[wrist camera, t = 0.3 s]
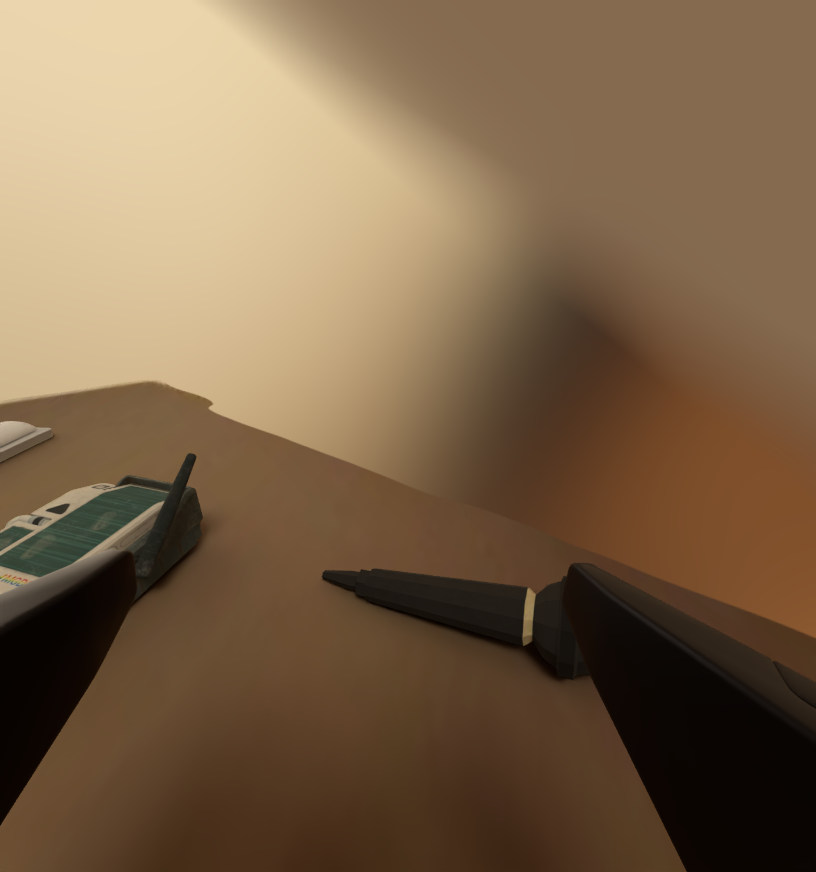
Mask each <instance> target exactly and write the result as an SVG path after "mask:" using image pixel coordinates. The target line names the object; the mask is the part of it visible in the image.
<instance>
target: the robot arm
mask: <svg viewBox="0 0 816 872" xmlns="http://www.w3.org/2000/svg"><path fill="white" fill-rule="evenodd" d="M136 593H137V579H136V570H135V561H134V556H133V553H132V552H131V551H129V550H113V549H109V550H105V551H102V552H100V553H98V554H95V555H93V556H90V557H88V558H86V559H83V560H81V561H78V562H76V563H74V564H71V565H69V566H66V567H64V568H62V569H59V570H57V571H54V572H52V573H50V574H47V575H45V576H42V577H40V578H38V579H35V580H33V581H30V582H28V583H26V584H23V585H21V586H18V587H16V588H14V589H11V590H9V591H6V592H4V593H2V594H0V825H1V824H2V822H3V821H4V819H5V817H6V816H7V814H8V813H9V811H10V810H11V808H12V806H13V805H14V803H15V802H16V800H17V799H18V797H19V795H20V794H21V792H22V791H23V789H24V788H25V786H26V784H27V783H28V781H29V780H30V778H31V777H32V775H33V773H34V772H35V770H36V769H37V767H38V766H39V764H40V762H41V761H42V759H43V758H44V756H45V755H46V753H47V751H48V750H49V748H50V747H51V745H52V744H53V742H54V740H55V739H56V737H57V736H58V734H59V733H60V731H61V729H62V728H63V726H64V725H65V723H66V722H67V720H68V718H69V717H70V715H71V714H72V712H73V711H74V709H75V707H76V706H77V704H78V703H79V701H80V700H81V698H82V696H83V695H84V693H85V692H86V690H87V689H88V687H89V685H90V684H91V682H92V680H93V679H94V677H95V675H96V674H97V672H98V670H99V668H100V666H101V664H102V662H103V661H104V659H105V657H106V655H107V653H108V651H109V649H110V647H111V645H112V643H113V641H114V639H115V637H116V635H117V633H118V631H119V629H120V627H121V625H122V623H123V621H124V619H125V617H126V615H127V613H128V611H129V609H130V607H131V605H132V603H133V601H134V599H135V596H136ZM562 600H563V606H564V609H565V611H566V614H567V617H568V619H569V622H570V625H571V627H572V630H573V633H574V635H575V638H576V640H577V643H578V646H579V648H580V651H581V654H582V656H583V659H584V662H585V664H586V666H587V669H588V671H589V674H590V676H591V678H592V680H593V682H594V684H595V686H596V688H597V691H598V693H599V695H600V697H601V699H602V701H603V703H604V705H605V707H606V709H607V711H608V713H609V715H610V717H611V719H612V721H613V723H614V725H615V727H616V729H617V731H618V733H619V735H620V737H621V739H622V741H623V743H624V745H625V747H626V749H627V751H628V753H629V755H630V758H631V760H632V762H633V764H634V766H635V768H636V770H637V772H638V774H639V776H640V778H641V780H642V782H643V784H644V786H645V788H646V790H647V792H648V794H649V796H650V798H651V800H652V802H653V804H654V806H655V808H656V810H657V812H658V814H659V816H660V818H661V820H662V823H663V825H664V827H665V829H666V831H667V833H668V835H669V837H670V839H671V841H672V843H673V845H674V847H675V849H676V851H677V853H678V855H679V857H680V859H681V861H682V863H683V865H684V867H685V869H686V871H687V872H816V682H815V681H813V680H811V679H809V678H807V677H805V676H803V675H801V674H799V673H797V672H795V671H794V670H792V669H790V668H788V667H786V666H784V665H782V664H780V663H778V662H776V661H773V662H772V660H771V659H770V658H769V657H767V656H765V655H763V654H761V653H759V652H757V651H756V650H754V649H752V648H750V647H748V646H746V645H744V644H742V643H740V642H738V641H737V640H735V639H733V638H731V637H729V636H727V635H725V634H723V633H721V632H720V631H718V630H716V629H714V628H712V627H710V626H708V625H706V624H704V623H703V622H701V621H699V620H697V619H695V618H693V617H691V616H689V615H687V614H685V613H684V612H682V611H680V610H678V609H676V608H674V607H672V606H670V605H668V604H667V603H665V602H663V601H661V600H659V599H657V598H655V597H653V596H651V595H650V594H648V593H646V592H644V591H642V590H640V589H638V588H636V587H634V586H632V585H631V584H629V583H627V582H625V581H623V580H621V579H619V578H617V577H615V576H614V575H612V574H610V573H608V572H606V571H604V570H602V569H600V568H598V567H597V566H595V565H593V564H589V563H573V564H572V565H571V566H570V567H569V570H568V574H567V578H566V582H565V586H564V590H563V596H562Z"/></svg>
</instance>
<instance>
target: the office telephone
mask: <svg viewBox="0 0 816 872" xmlns="http://www.w3.org/2000/svg"><path fill="white" fill-rule="evenodd" d="M51 437H53V432H52V429H51V428H36V427H34V426H32V425H30V424H27V423H23V422H16V421H8V422H1V423H0V462H2V461H4V460H6V459H8V458H10V457H12V456H14V455H16V454H18V453H21V452H23V451H25V450H27V449H29V448H31V447H33V446H35V445H37V444H39V443H41V442H43V441H45V440H47V439H49V438H51Z"/></svg>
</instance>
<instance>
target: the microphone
mask: <svg viewBox="0 0 816 872" xmlns="http://www.w3.org/2000/svg"><path fill="white" fill-rule="evenodd" d="M322 578H323V579H324V580H327V581H329V582H331V583H334V584H336V585H339V586H341V587H344V588H346V589H350V590H353V591H356V595H360V596H364V597H366V599H367V601H369V602H373V603H376V604H379V605H383V606H386V607H390V608H393V609H397V610H400V611H404V612H407V613H410V614H414V615H417V616H421V617H424V618H428V619H431V620H435V621H438V622H441V623H445V624H448V625H452V626H455V627H459V628H462V629H465V630H469V631H472V632H476V633H479V634H483V635H486V636H490V637H493V638H496V639H500V640H503V641H507V642H510V643H514V644H517V645H521V646H525V645H527V644H529V643H530V642H533V644H534V645H535V647H536V648H537V650H538V651H539V653H540V654H541V656H542V657H543V659H545V660H546V661H547V662H549V663H550V664H551V665H552V666H554V667H555V668H556V670H557V674H558V676H561V677H564V678H567V679H571V680H573V679H574V677H575V676H576V674H579V675H590V674H589V671H588V669H587V666H586V664H585V662H584V659H583V656H582V654H581V651H580V648H579V646H578V643H577V640H576V638H575V635H574V633H573V630H572V627H571V625H570V622H569V619H568V617H567V614H566V611H565V609H564V606H563V600H562V596H563V590H564V586H565V582H566V578H567V576H564V577H563V579H562V581H560V582H557V583H553V584H550V585H548V586H546V587H545V588H544V589H543V590H542V591H541V592H539V593H538V594H537V595H536V594H535V593H534V592H533V591H532V590H531V589H530V588H529V587H521V586H513V585H505V584H497V583H488V582H480V581H472V580H464V579H456V578H448V577H440V576H432V575H424V574H416V573H408V572H399V571H391V570H383V569H372V570H371V571H367V570H362V569H361V571H360V572H355V571H329V570H325V571H324V572H323V575H322Z"/></svg>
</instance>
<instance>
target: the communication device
mask: <svg viewBox="0 0 816 872" xmlns="http://www.w3.org/2000/svg"><path fill="white" fill-rule="evenodd" d="M195 460H196V455H195V454H192V453H189V454H187V456H186V458H185V461H184V463H183V465H182V467H181V469H180V471H179V473H178V475H177V477H176V479H175V481H174V483H168V482H163V481H158V480H153V479H147V478H142V477H137V476H132V475H127V476H125V477H123V478H122V479H121V480H120V481H119V482H118V483H117V485H111V484H106V483H100V484H96V485H92V486H88V487H83V488H79V489H75V490H72V491H70V492H68V493H66V494H64V495H63V496H61V497H59V498H57V499H56V500H54V501H52V502H50V503H48V504H47V505H45V506H43V507H41V508H40V509H38V510H36V511H34V512H33V513H31V514H30V515H31V516H29V515H23V516H18V517H16V518H14V519H12V520H10V521H9V522H8V523H7V525H6V527H5V528H4V529H2V530H1V531H0V594H2V593H4V592H6V591H9V590H11V589H14V588H16V587H18V586H21V585H23V584H26V583H28V582H30V581H33V580H35V579H38V578H40V577H42V576H45V575H47V574H50V573H52V572H54V571H57V570H59V569H62V568H64V567H66V566H69V565H71V564H74V563H76V562H78V561H81V560H83V559H86V558H88V557H90V556H93V555H95V554H98V553H100V552H102V551H105V550H109V549H113V550H129V551H131V552H132V553H133V556H134V561H135V570H136V579H137V593H136V596H135V599H134V601H135V600H136V599H137V598H138V597H139V596H140V595H141V594H142V593H144V592H145V591H146V590H147V589H148V588H149V587H150V586H151V585H152V584H153V583H154V582H155V581H156V580H158V579H159V578H160V577H161V576H162V575H163V574H164V573H165V572H166V571H167V570H168V569H169V568H171V567H172V566H173V565H174V564H175V563H176V562H177V561H178V560H179V559H180V558H181V557H182V556H184V555H185V554H186V553H187V552H188V551H189V550H190V549H191V548H192V547H193V546H194V545H195V544H196V543H197V539H198V538H199V537H200V536H201V535H202V533H201V528H200V521H201V520H202V518H203V516H202V512H201V508H200V504H199V501H198V497H197V493H196V490H195V489H194V488H191V487H188V486H186V485H187V482H188V479H189V476H190V474H191V471H192V468H193V465H194V463H195ZM134 601H133V602H134Z"/></svg>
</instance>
